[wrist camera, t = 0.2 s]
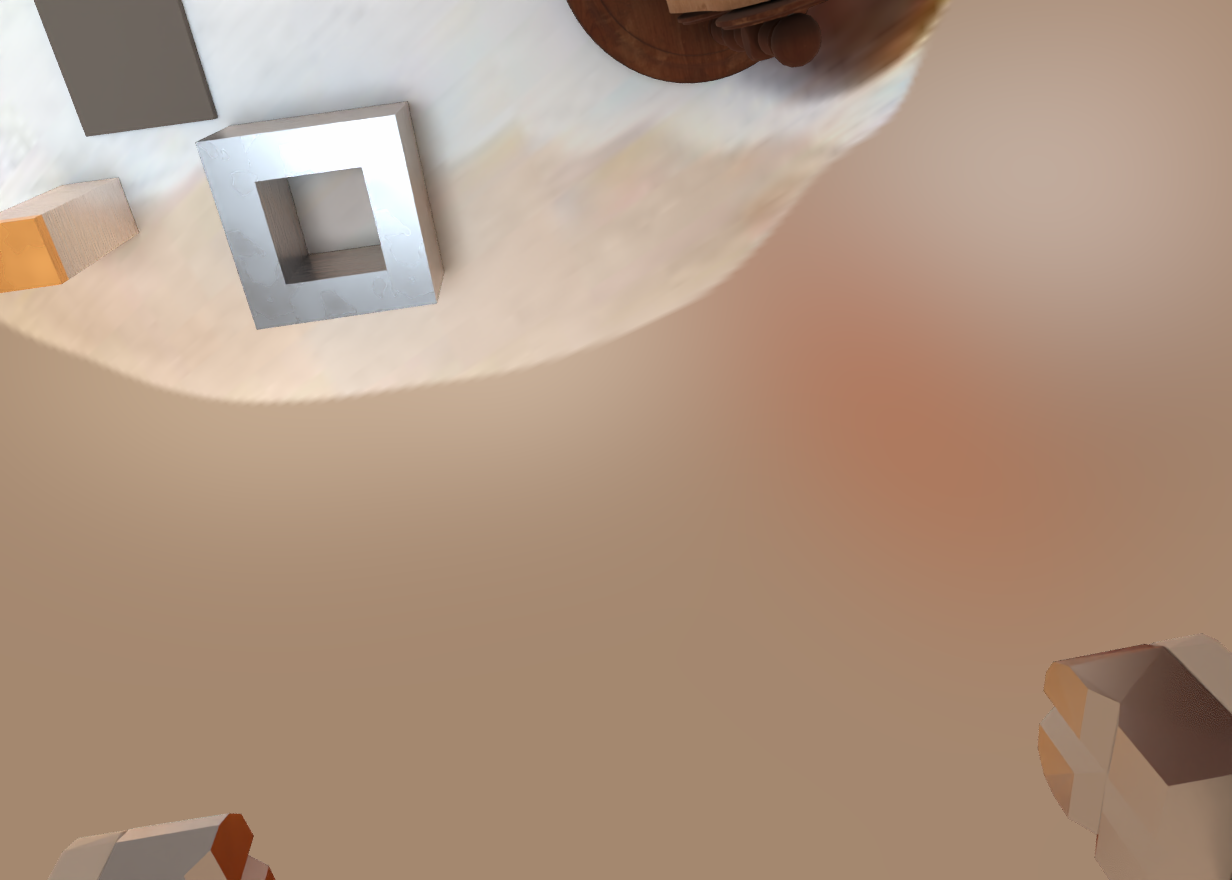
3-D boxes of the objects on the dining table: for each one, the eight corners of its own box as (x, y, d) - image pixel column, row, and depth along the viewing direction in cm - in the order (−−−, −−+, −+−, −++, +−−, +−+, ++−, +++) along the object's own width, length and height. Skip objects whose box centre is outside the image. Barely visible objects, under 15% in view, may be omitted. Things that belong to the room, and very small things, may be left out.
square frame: (229, 125, 49) (195, 142, 44) (407, 101, 50) (394, 115, 44) (282, 296, 54) (256, 329, 48) (444, 272, 54) (436, 303, 49)
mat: (37, -6, 45) (31, -6, 45) (173, -24, 46) (169, -24, 45) (90, 134, 49) (86, 136, 48) (217, 117, 49) (214, 119, 48)
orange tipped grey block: (61, 185, 50) (-37, 228, 41) (118, 177, 50) (33, 218, 41) (83, 240, 51) (-6, 293, 42) (139, 232, 51) (61, 284, 42)
